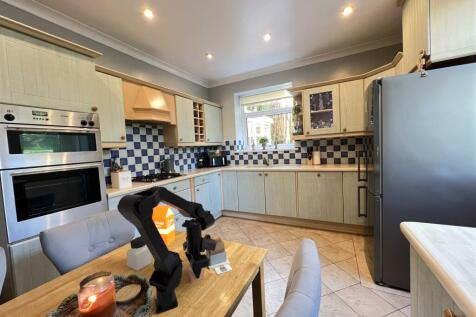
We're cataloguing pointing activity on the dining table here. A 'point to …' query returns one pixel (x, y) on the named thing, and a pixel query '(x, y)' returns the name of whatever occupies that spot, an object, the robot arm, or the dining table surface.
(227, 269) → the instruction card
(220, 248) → the walnut brick
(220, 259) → the grey square block
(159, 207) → the orange juice
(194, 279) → the terracotta brick
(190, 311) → the dining table surface
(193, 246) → the robot arm
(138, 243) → the medicine bottle
